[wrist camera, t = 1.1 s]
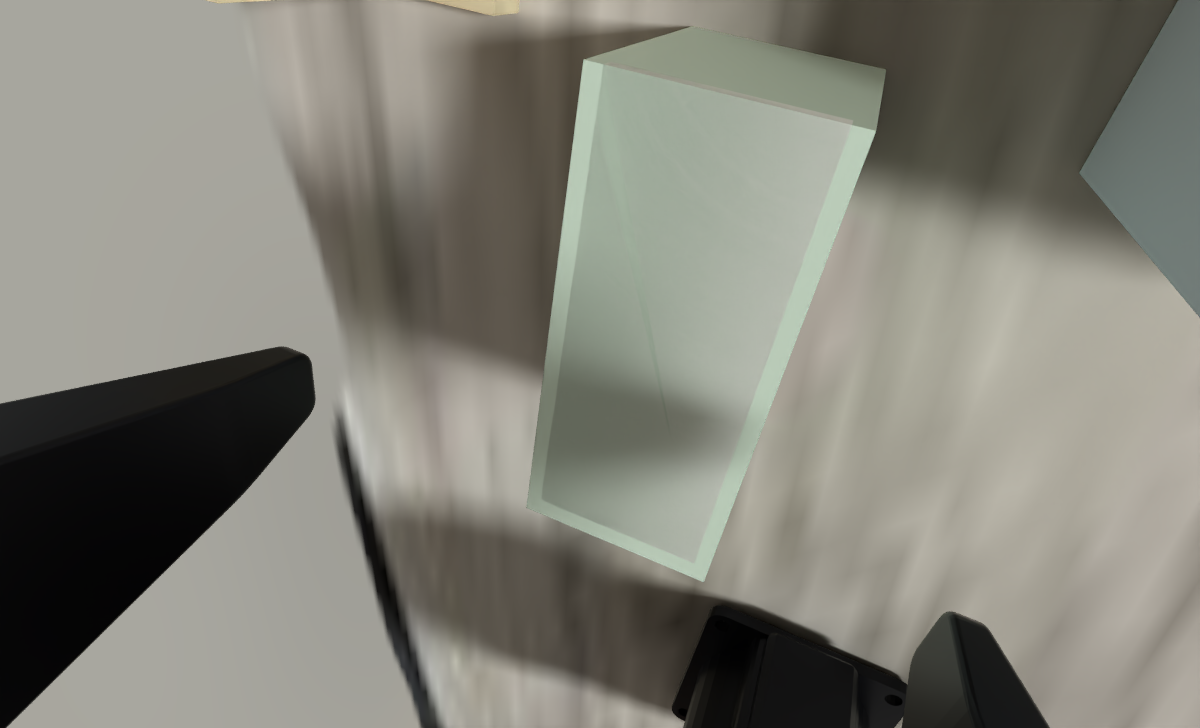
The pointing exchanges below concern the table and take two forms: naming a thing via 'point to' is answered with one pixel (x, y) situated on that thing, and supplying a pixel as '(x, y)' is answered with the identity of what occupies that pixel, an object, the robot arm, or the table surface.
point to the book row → (1159, 154)
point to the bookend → (454, 5)
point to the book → (687, 276)
